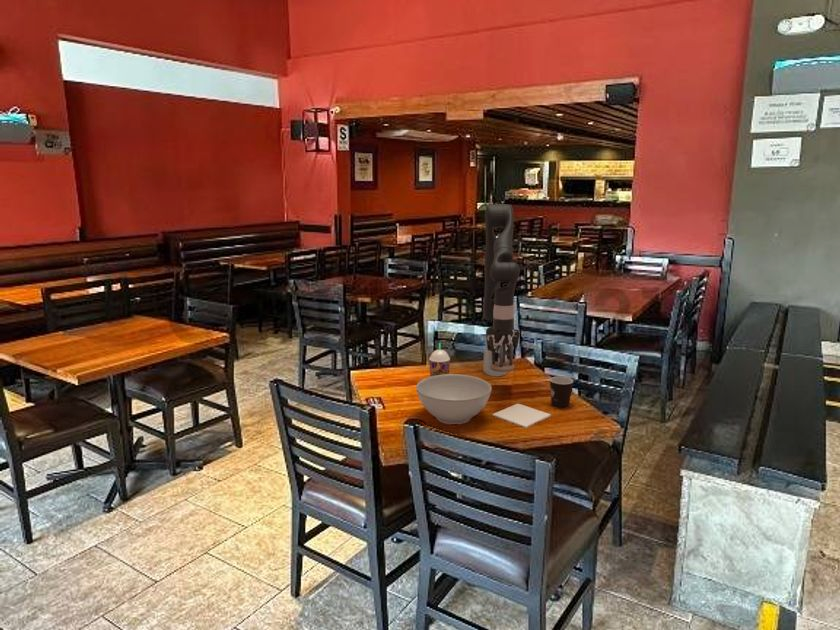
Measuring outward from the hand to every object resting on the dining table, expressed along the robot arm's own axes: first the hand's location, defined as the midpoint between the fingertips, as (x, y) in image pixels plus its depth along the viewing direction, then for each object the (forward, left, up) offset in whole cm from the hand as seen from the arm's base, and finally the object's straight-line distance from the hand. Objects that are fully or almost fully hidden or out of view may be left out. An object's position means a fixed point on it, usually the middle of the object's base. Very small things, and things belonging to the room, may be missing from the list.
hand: (502, 360), depth 223 cm
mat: (+12, -3, -18) cm, 22 cm away
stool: (0, 0, -3) cm, 3 cm away
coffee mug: (+15, +17, -18) cm, 29 cm away
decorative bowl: (-4, -22, -18) cm, 29 cm away
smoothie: (-27, -6, -18) cm, 33 cm away
